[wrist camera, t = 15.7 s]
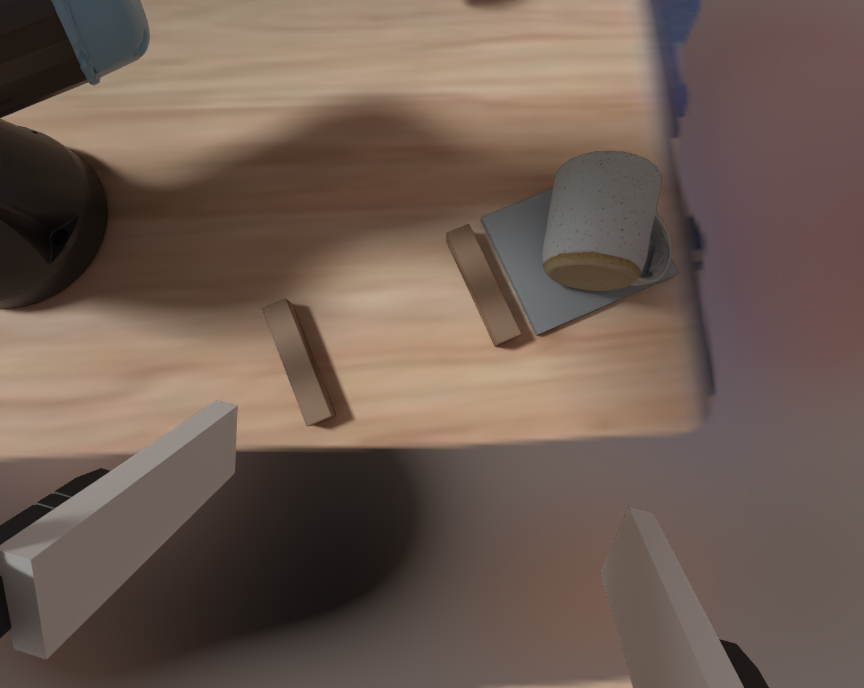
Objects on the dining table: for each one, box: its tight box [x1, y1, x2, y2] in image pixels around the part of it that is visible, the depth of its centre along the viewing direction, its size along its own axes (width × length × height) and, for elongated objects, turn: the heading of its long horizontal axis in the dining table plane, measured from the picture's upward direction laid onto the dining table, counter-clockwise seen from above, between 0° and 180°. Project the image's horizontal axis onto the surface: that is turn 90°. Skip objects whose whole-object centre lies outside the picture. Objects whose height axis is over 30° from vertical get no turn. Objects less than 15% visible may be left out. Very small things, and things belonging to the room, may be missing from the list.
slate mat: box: [481, 188, 679, 335], centre depth 35 cm, size 11×13×1 cm
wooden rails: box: [262, 224, 521, 426], centre depth 34 cm, size 10×18×2 cm, turn 113°
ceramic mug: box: [542, 151, 672, 291], centre depth 31 cm, size 11×8×8 cm
